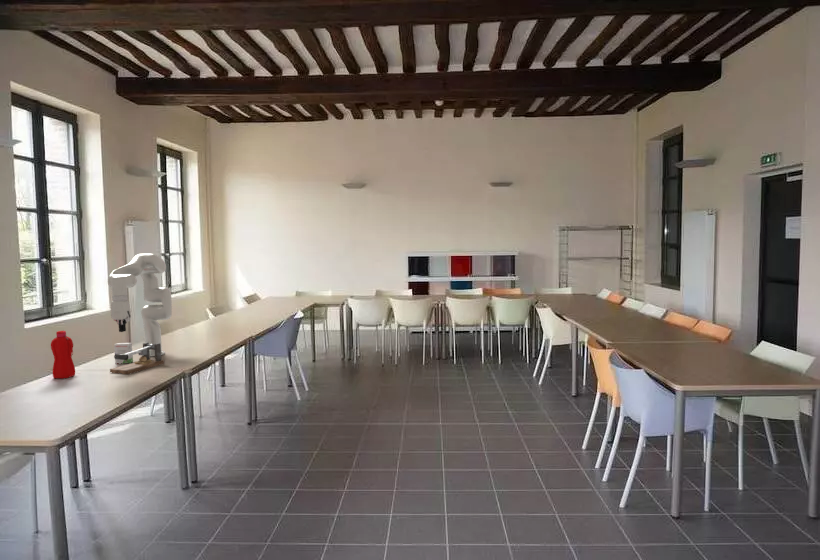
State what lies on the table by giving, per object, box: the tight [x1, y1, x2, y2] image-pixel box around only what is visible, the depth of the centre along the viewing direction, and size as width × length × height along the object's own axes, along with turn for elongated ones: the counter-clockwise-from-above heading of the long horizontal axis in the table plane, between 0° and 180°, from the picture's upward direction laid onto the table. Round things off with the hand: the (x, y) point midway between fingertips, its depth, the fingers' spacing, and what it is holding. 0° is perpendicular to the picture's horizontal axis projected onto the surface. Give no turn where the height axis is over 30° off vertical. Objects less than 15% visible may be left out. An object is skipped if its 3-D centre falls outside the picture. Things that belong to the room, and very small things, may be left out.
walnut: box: [138, 355, 147, 362], centre depth 323 cm, size 4×4×4 cm
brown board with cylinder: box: [109, 342, 165, 375], centre depth 319 cm, size 13×26×12 cm, turn 160°
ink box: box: [113, 342, 134, 365], centre depth 333 cm, size 8×5×12 cm, turn 92°
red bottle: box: [50, 330, 76, 380], centre depth 301 cm, size 9×11×25 cm
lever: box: [113, 344, 155, 360], centre depth 319 cm, size 25×7×4 cm, turn 160°
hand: (122, 331), depth 310 cm, fingers closed
